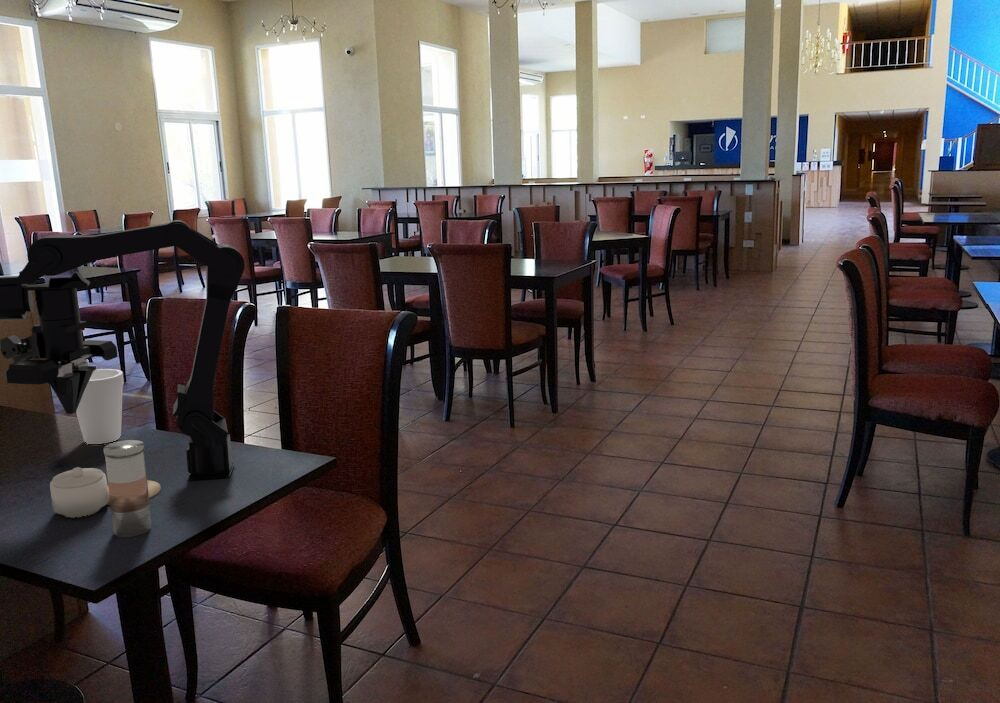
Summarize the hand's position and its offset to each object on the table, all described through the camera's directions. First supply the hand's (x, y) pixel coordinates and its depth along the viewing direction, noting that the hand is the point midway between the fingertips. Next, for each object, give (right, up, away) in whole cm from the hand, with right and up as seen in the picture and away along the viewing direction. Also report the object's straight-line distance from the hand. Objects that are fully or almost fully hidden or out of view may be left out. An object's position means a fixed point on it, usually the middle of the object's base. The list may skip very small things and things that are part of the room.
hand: (71, 413), depth 128 cm
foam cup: (-8, -7, +27) cm, 29 cm away
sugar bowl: (+4, -15, -5) cm, 16 cm away
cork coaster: (+8, -13, +1) cm, 16 cm away
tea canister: (+15, -16, -12) cm, 25 cm away
